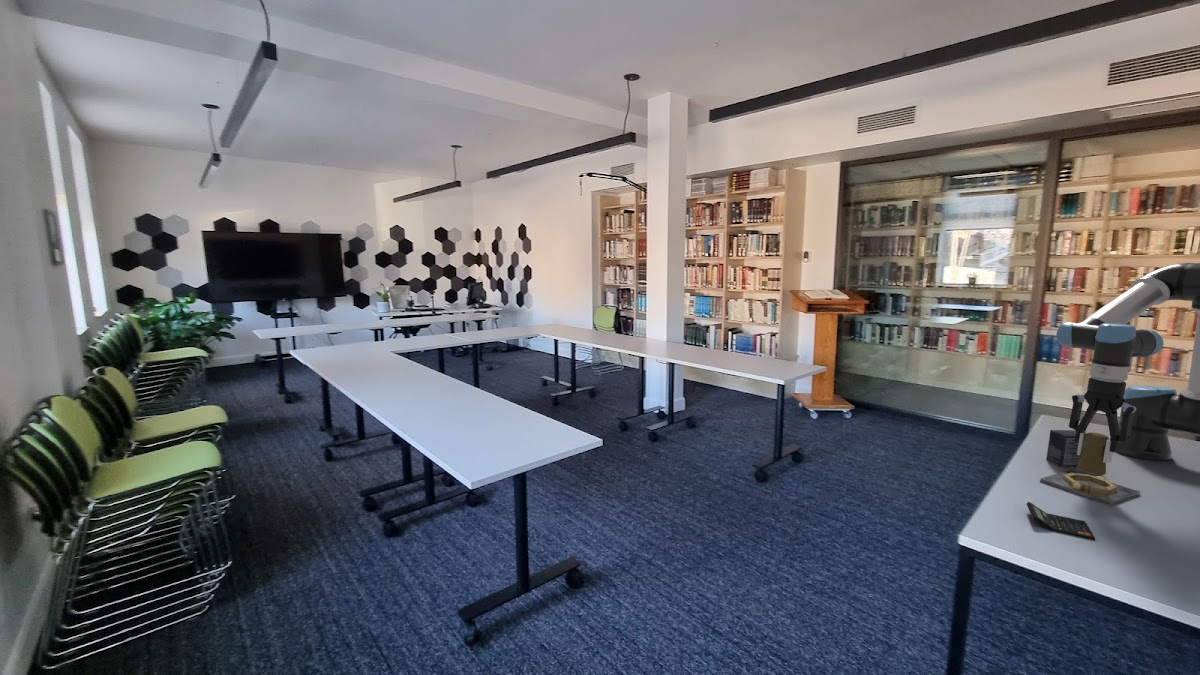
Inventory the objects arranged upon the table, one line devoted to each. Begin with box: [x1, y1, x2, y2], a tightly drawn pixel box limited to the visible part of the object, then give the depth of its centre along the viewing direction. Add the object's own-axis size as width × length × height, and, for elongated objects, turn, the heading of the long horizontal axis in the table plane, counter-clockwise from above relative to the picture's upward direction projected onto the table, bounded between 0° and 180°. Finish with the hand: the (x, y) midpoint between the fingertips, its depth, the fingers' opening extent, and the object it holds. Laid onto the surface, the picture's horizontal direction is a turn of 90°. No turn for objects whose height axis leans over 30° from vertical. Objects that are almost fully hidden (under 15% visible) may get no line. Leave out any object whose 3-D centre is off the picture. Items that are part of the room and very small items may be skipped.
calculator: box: [1026, 501, 1096, 541], centre depth 128 cm, size 9×12×3 cm
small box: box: [1045, 429, 1089, 468], centre depth 165 cm, size 11×6×10 cm, turn 88°
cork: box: [1076, 432, 1110, 476], centre depth 147 cm, size 6×6×11 cm
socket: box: [1040, 469, 1141, 507], centre depth 148 cm, size 16×16×2 cm
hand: (1093, 457), depth 147 cm, fingers closed on cork, 5 cm apart
